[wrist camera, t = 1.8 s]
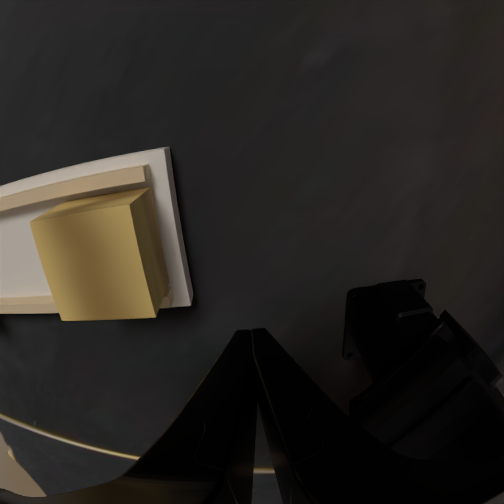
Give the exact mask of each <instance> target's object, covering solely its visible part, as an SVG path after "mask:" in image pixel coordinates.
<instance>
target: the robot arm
mask: <svg viewBox="0 0 504 504" xmlns="http://www.w3.org/2000/svg"><path fill="white" fill-rule="evenodd" d="M420 284H421V286H420V287H418V286H419V285H420ZM425 289H426V283H425V282H424V281H423V280H422V279H415V280H408V281H407V280H400V281H393V282H386V283H379V284H377V285H374V286H367V287H360V288H353V289H351V290H349V292H348V294H347V304H346V318H345V331H344V342H343V352H342V354H343V357H344V358H345V359H346V360H350V359H356V358H361V357H362V360H363V362H364V364H365V366H366V368H367V370H368V373H369V375H370V377H371V379H372V381H373V383H372V384H371V385H370V386H369V387H368V388H366V389H365V390H364V391H363V392H362V393H360V394H359V395H358V396H355V397H354V398H352V399H351V400H350V401H349V415H350V417H349V416H348V415H346V414H345V413H344V412H343V411H342V410H341V409H340V408H339V407H338V406H337V405H336V404H335V403H334V402H333V401H332V400H331V399H330V398H329V397H328V396H327V395H326V394H325V393H324V392H322V390H321V389H320V388H319V387H318V386H317V385H316V383H315V382H314V381H313V380H312V379H311V378H310V377H309V376H308V375H307V374H306V373H305V372H304V370H303V369H302V368H301V367H300V366H299V365H298V364H297V363H296V362H295V361H294V360H293V358H292V357H291V356H290V355H289V354H288V353H287V352H286V351H285V350H284V349H283V347H282V346H281V345H280V344H279V343H278V342H277V341H276V340H275V339H274V337H273V336H272V335H271V334H270V333H269V332H268V331H267V330H266V329H265V328H257V329H252V330H251V331H250V330H249V329H246V330H237V331H236V332H235V333H234V334H233V336H232V337H231V339H230V340H229V342H228V343H227V345H226V346H225V348H224V349H223V351H222V352H221V354H220V355H219V357H218V358H217V360H216V361H215V362H214V364H213V365H212V367H211V368H210V370H209V371H208V373H207V374H206V376H205V377H204V378H203V380H202V381H201V383H200V384H199V386H198V387H197V389H196V390H195V391H194V393H193V394H192V396H191V397H190V399H189V400H188V401H187V403H186V405H184V407H183V408H182V410H181V411H180V413H179V414H178V415H177V417H176V418H175V419H174V421H173V422H172V423H171V425H170V426H169V427H168V428H167V429H166V430H165V431H164V433H163V434H162V435H161V436H160V437H159V438H158V439H157V440H156V441H155V443H154V444H153V445H152V446H151V447H150V448H149V449H148V450H147V451H146V452H145V453H144V454H143V455H142V456H141V457H140V458H139V459H138V460H137V461H136V462H135V463H134V464H133V465H132V466H131V467H130V468H129V469H128V470H127V471H126V472H125V473H123V474H122V475H121V476H119V477H118V478H116V479H114V480H112V481H110V482H107V483H104V484H100V485H97V486H93V487H89V488H85V489H81V490H76V491H72V492H67V493H63V494H58V495H53V496H47V497H26V496H22V495H18V494H15V493H13V492H11V491H8V490H5V489H1V488H0V504H251V500H252V485H253V469H254V454H255V437H256V420H257V398H258V404H259V409H260V413H261V418H262V422H263V426H264V430H265V434H266V438H267V442H268V446H269V450H270V454H271V458H272V462H273V466H274V470H275V474H276V478H277V482H278V486H279V490H280V494H281V497H282V501H283V504H504V396H503V394H502V393H501V392H500V390H499V389H498V388H497V386H498V385H499V384H500V383H501V381H502V380H503V379H504V377H503V376H502V374H501V373H500V371H499V370H498V368H497V367H496V366H495V364H494V363H493V361H492V360H491V359H490V357H489V356H488V355H487V354H486V353H485V352H484V350H483V349H482V348H481V347H480V346H479V345H478V343H477V342H476V341H475V340H474V339H473V338H472V337H471V336H470V335H469V333H468V332H467V331H466V330H465V329H464V328H463V327H462V326H461V325H460V324H459V323H458V322H457V321H456V320H455V319H454V318H453V317H452V316H451V315H450V314H449V313H448V312H447V311H446V310H444V311H443V313H442V314H441V315H440V318H439V319H437V318H436V316H435V315H434V314H433V313H432V311H433V309H432V307H431V306H430V305H429V304H428V303H427V302H426V300H425V299H424V295H425ZM354 294H357V295H356V296H355V297H352V296H353V295H354ZM348 353H350V354H348Z"/></svg>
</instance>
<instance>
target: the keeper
mask: <svg viewBox="0 0 504 504" xmlns="http://www.w3.org/2000/svg"><path fill="white" fill-rule="evenodd" d="M30 226H31V230H32V234H33V237H34V241H35V244H36V248H37V251H38V254H39V258H40V261H41V264H42V267H43V270H44V273H45V276H46V279H47V282H48V285H49V287H50V290H51V293H52V296H53V298H54V301H55V304H56V306H57V309H58V311H59V314H60V316H61V319H62V321H77V320H111V319H135V318H154V317H156V316H157V313H158V310H159V308H160V305H161V302H162V300H163V297H164V294H165V292H166V289H167V286H168V284H169V277H168V273H167V268H166V264H165V259H164V254H163V249H162V244H161V239H160V234H159V228H158V223H157V218H156V212H155V206H154V200H153V194H152V188H151V187H145V188H139V189H132V190H126V191H120V192H114V193H108V194H103V195H97V196H92V197H86V198H81V199H76V200H71V201H66V202H63V203H61V204H59V205H57V206H56V207H54V208H52V209H50V210H49V211H47V212H45V213H44V214H42V215H40V216H39V217H37V218H35V219H34V220H32V221H30Z"/></svg>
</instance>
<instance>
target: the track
mask: <svg viewBox="0 0 504 504" xmlns="http://www.w3.org/2000/svg"><path fill="white" fill-rule="evenodd" d="M145 187H151V188H152V194H153V200H154V206H155V212H156V218H157V223H158V228H159V234H160V239H161V244H162V249H163V254H164V259H165V264H166V268H167V273H168V277H169V284H168V286H167V289H166V292H165V294H164V297H163V300H162V302H161V305H160V308H171V307H181V306H191V303H192V298H193V289H192V284H191V279H190V274H189V268H188V263H187V258H186V252H185V246H184V241H183V235H182V229H181V223H180V217H179V210H178V204H177V197H176V191H175V184H174V177H173V170H172V163H171V155H170V147H164V148H158V149H152V150H146V151H141V152H135V153H130V154H125V155H120V156H115V157H110V158H105V159H100V160H96V161H91V162H87V163H82V164H78V165H74V166H70V167H66V168H62V169H58V170H54V171H50V172H46V173H43V174H39V175H35V176H32V177H28V178H25V179H22V180H18V181H15V182H12V183H8V184H5V185H2V186H0V314H35V313H59V311H58V309H57V306H56V304H55V301H54V298H53V296H52V293H51V290H50V287H49V285H48V282H47V279H46V276H45V273H44V270H43V267H42V264H41V261H40V258H39V254H38V251H37V248H36V244H35V241H34V237H33V234H32V230H31V226H30V221H32V220H34V219H35V218H37V217H39V216H40V215H42V214H44V213H45V212H47V211H49V210H50V209H52V208H54V207H56V206H57V205H59V204H61V203H63V202H66V201H71V200H76V199H81V198H86V197H92V196H97V195H103V194H108V193H114V192H120V191H126V190H132V189H139V188H145Z"/></svg>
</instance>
